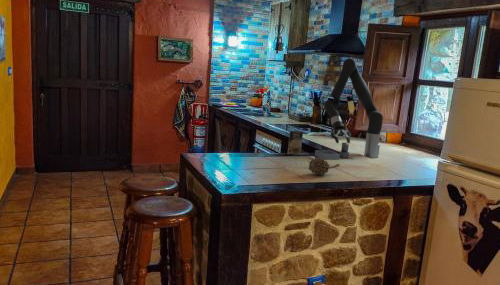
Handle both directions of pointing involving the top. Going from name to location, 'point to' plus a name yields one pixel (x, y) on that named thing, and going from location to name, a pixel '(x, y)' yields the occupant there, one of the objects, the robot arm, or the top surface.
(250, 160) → the top surface
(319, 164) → the pine cone
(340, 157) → the stud base
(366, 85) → the robot arm
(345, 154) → the metal strut
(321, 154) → the slate bin
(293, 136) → the coffee box
